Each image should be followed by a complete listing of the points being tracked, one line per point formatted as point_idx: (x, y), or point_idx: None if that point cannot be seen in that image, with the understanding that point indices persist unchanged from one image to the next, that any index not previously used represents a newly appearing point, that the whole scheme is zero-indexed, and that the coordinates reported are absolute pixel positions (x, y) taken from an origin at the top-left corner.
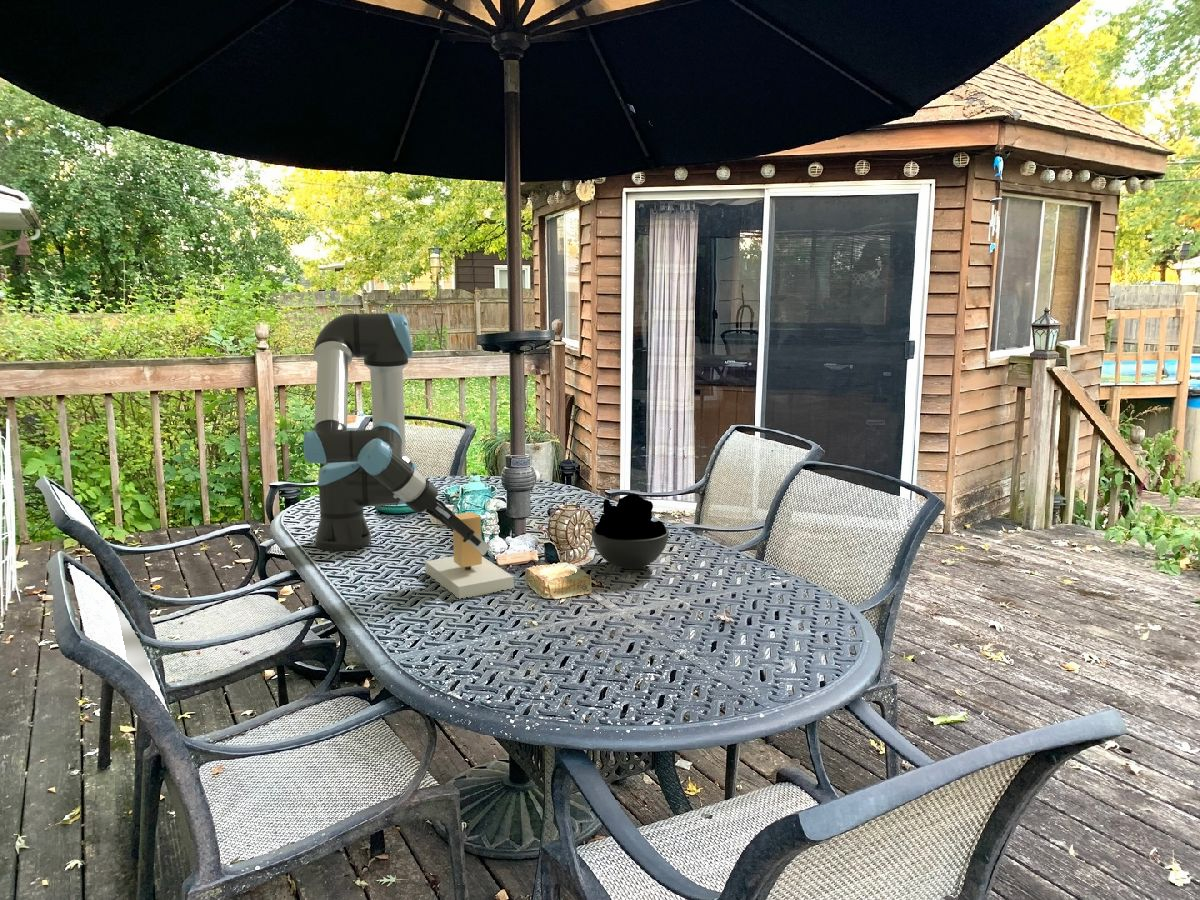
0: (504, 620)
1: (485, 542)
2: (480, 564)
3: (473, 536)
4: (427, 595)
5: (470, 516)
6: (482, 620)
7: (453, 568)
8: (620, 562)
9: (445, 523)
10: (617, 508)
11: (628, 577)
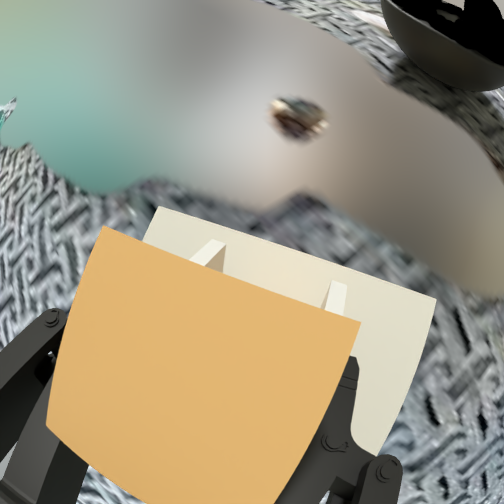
0: (499, 438)
1: (342, 312)
2: (256, 284)
3: (347, 425)
4: None
5: (226, 411)
6: (467, 473)
7: None
8: (479, 91)
9: (87, 463)
10: None
11: (478, 108)
